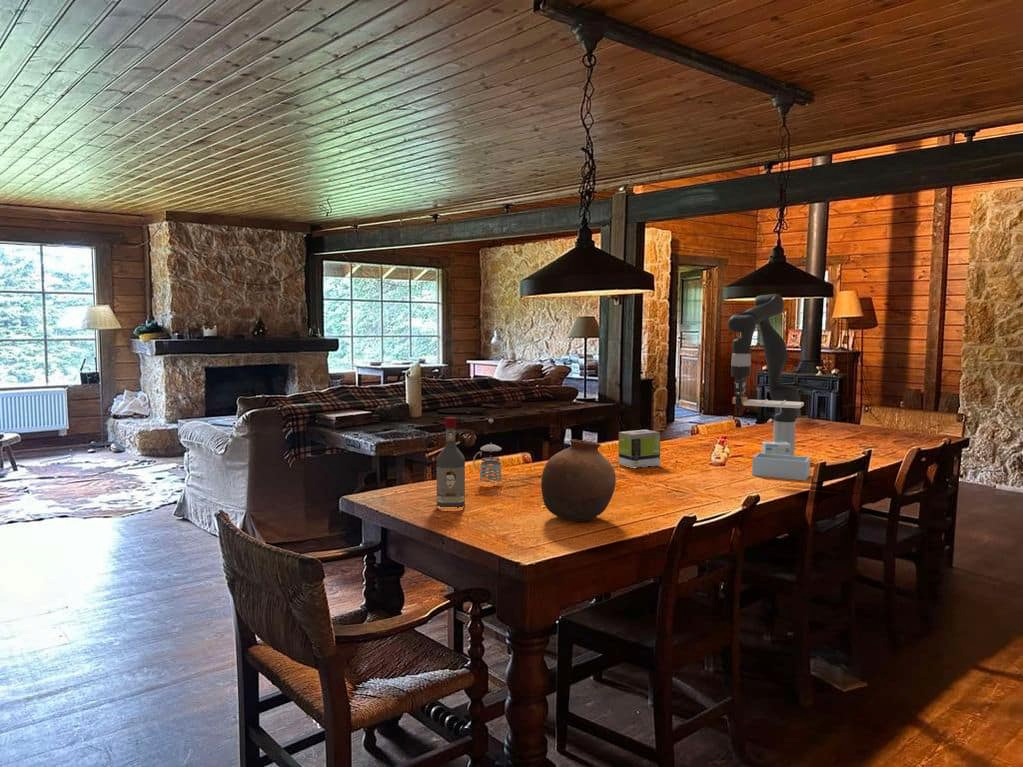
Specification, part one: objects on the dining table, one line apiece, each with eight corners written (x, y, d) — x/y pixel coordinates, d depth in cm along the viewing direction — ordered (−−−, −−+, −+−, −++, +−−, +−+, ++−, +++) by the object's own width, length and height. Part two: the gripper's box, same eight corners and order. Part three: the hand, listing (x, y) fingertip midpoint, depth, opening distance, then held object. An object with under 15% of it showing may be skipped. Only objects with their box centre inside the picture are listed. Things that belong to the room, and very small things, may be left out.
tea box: (646, 462, 326) (647, 428, 325) (660, 466, 317) (661, 432, 316) (617, 465, 319) (618, 430, 318) (631, 469, 310) (631, 434, 309)
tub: (757, 472, 305) (757, 452, 304) (809, 477, 295) (810, 457, 295) (752, 477, 295) (752, 457, 294) (806, 482, 286) (806, 461, 285)
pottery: (530, 523, 226) (530, 442, 224) (556, 506, 247) (557, 432, 245) (602, 532, 217) (603, 448, 215) (623, 514, 238) (624, 436, 236)
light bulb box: (786, 466, 318) (787, 441, 317) (790, 469, 311) (791, 444, 310) (760, 465, 319) (761, 440, 318) (764, 468, 312) (765, 443, 311)
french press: (500, 488, 275) (500, 420, 273) (470, 486, 277) (470, 419, 275) (506, 482, 284) (506, 417, 282) (476, 481, 287) (476, 416, 284)
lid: (736, 401, 307) (736, 395, 307) (803, 405, 295) (804, 398, 295) (730, 404, 297) (730, 398, 296) (799, 408, 284) (800, 401, 284)
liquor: (437, 505, 249) (436, 416, 247) (464, 504, 250) (464, 415, 247) (436, 511, 240) (436, 419, 237) (464, 511, 241) (464, 419, 238)
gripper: (735, 363, 307) (733, 404, 309) (727, 365, 295) (726, 408, 296) (753, 364, 304) (752, 405, 305) (747, 366, 291) (745, 409, 293)
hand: (739, 406), depth 301 cm, fingers closed on lid, 4 cm apart
